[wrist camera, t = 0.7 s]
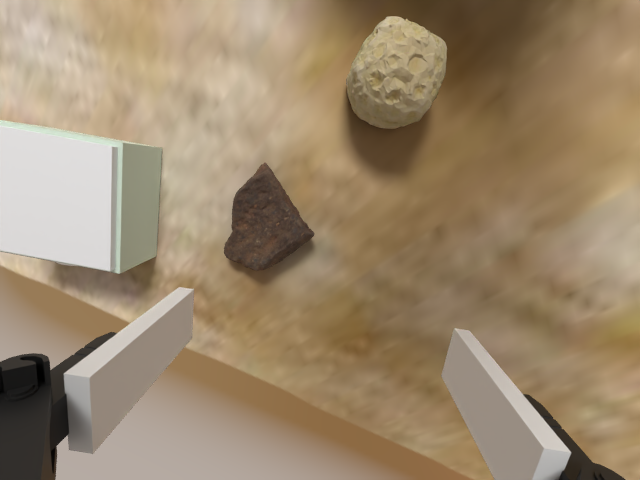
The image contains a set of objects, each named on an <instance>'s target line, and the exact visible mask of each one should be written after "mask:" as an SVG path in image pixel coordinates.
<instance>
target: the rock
mask: <svg viewBox="0 0 640 480" xmlns="http://www.w3.org/2000/svg"><path fill="white" fill-rule="evenodd" d="M232 230H233V232H232V234H231V236H230V237H229V238H228V240H227V242H226V243H225V247H224V254H225V256H226V257H227V258H228V259H230V260H232V261H235V262H238V263H241V264H243V265H244V266H245V267H249V268H251V269H253V270H264V269H267V268H269V267H271V266H272V265H274V264H276V263H278V262H280V261H282V260H283V259H284V258H286V257H287V256H289V255H290V254H291V253H293V252H294V251H295V250H296V249H298V248H299V247H300V246H301V245H303V244H304V243H305V242H307V241H308V240H310V239H311V238H312V237H313V236H314V232H313V231H312V230H311V229H309V227H308V225H307V224H306V223H305V222H304V221H303V220H302V219H301V217H300V215H299V212H298V210H297V208H296V207H295V206H294V205H293V203H292V202H291V200H290V198H289V196H288V195H287V194H286V192H285V190H284V189H283V188H282V186H281V184H280V182H279V181H278V180H277V178H276V177H275V175H274V174H273V172H272V170H271V169H270V168H269V166H268V165H267V164H266V163H264V164H263V165H261V166H260V167H259V169H258V170H257V172H256V173H255V174H254V176H253V177H251V178H250V179H249V180H248V181H247V182H246V184H245V185H244V186H243V187H241V188H240V189H239V190H238V192H237V193H236V195H235V198H234V201H233V209H232Z"/></svg>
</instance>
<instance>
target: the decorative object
mask: <svg viewBox="0 0 640 480" xmlns="http://www.w3.org/2000/svg"><path fill="white" fill-rule="evenodd" d="M446 54H447V47H446V44H445V42H444V41H443V40H442V39H441V38H440V37H438V36H437V35H435V34H433V33H430V31H428V30H426V29H425V28H424V27H422V26H419V25H418V24H417V23H414V22H411V21H409V20H408V19H405V20H404V19H403V18H401V17H396V16H390V17H386V19H385V20H383V21H381V22H380V23H379V24H378V25H377V26H376V27H375V29H374V30H373V32H372V33H371V34H370V35H369V36H368V37H367V38H366V40H365V41H364V43H363V44H362V46H361V49H360V51H359V52H358V54H357V56H356V58H355V60H354V61H353V63H352V67H351V70H350V73H349V74H348V76H347V79H346V84H347V94H348V98H349V101H350V103H351V106H352V109H353V111H354V113H356V114H357V116H358V117H359V118H360V119H362V120H365V121H366V122H367V123H369V124H370V125H373V126H376V127H380V128H387V129H395V128H399V127H400V126H402V127H404V126H406V125H409V124H411V123H413V122H418V121H420V119H421V118H422V117H423V115H424V114H425V113H426V112H427V111H428V109H429V108H430V107H431V105H432V102H433V101H434V100H435V98H436V96H437V94H438V91H439V88H440V87H441V84H442V82H443V79H444V77H445V73H446V61H447V56H446Z"/></svg>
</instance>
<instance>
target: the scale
mask: <svg viewBox="0 0 640 480" xmlns="http://www.w3.org/2000/svg"><path fill="white" fill-rule="evenodd" d="M161 160H162V148H160V147H155V146H149V145H144V144H139V143H133V142H128V141H122V140H117V139H111V138H106V137H100V136H95V135H89V134H84V133H79V132H73V131H68V130H62V129H57V128H51V127H45V126H38V125H31V124H24V123H18V122H11V121H4V120H0V252H6V253H11V254H17V255H22V256H27V257H33V258H38V259H43V260H49V261H54V262H55V263H58V264H61V265H68V266H81V267H86V268H91V269H97V270H102V271H107V272H113V273H118V274H121V273H123V272H125V271H127V270H129V269H131V268H133V267H135V266H137V265H139V264H141V263H143V262H145V261H147V260H150V259H152V258H154V257H156V256H157V237H158V218H159V199H160V179H161Z"/></svg>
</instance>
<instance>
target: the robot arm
mask: <svg viewBox="0 0 640 480" xmlns="http://www.w3.org/2000/svg"><path fill="white" fill-rule="evenodd" d="M193 303H194V289H189V288H182V287H179V288H177V289H176V290H175V291H173V292H172V293H171V294H169V295H168V296H167V297H165V298H164V299H163V300H161V301H160V302H159V303H157V304H156V305H155V306H153V307H152V308H151V309H149V310H148V311H147V312H145V313H144V314H143V315H141V316H140V317H139V318H137V319H136V320H135V321H133V322H132V323H131V324H129V325H128V326H127V327H125V328H124V329H123V330H121V331H120V332H119V333H114V332H110V333H108V334H105V335H103V336H100V337H98V338H96V339H94V340H93V341H92V342H90V343H89V344H87V345H86V346H85V347H84V348H82V349H80V350H79V351H77V352H76V353H75V355H72V356H70V357H69V358H68V359H66V360H64V361H63V362H62V363H60V364H59V365H57V366H56V367H55V368H53V369H52V370H50V362H49V359H48V357H47V356H45V355H43V354H24V355H19V356H16V357H11V358H8V359H6V360H4V361H2V362H0V480H55V477H56V462H57V447H56V446H57V445H58V444H59V443H60V442H61V441H62V440H63V439H64V438H65V437H66V436H67V435H68V442H69V450H73V451H79V452H85V453H91V454H93V453H94V452H95V451H96V449H98V447H99V446H100V445H101V444H102V443H103V442H104V440H105V439H106V438H107V436H109V435H110V433H111V432H112V431H113V430H114V429H115V427H116V426H117V425H118V424H119V423H120V421H121V420H122V419H123V418H124V417H125V416H126V415H127V413H128V412H129V411H130V410H131V409H132V408H133V406H134V405H135V404H136V403H137V402H138V401H139V399H140V398H141V397H142V396H143V395H144V393H145V392H146V391H147V390H148V389H149V388H150V387H151V385H152V384H153V383H154V382H155V381H156V379H157V378H158V377H159V376H160V375H161V374H162V372H163V371H164V370H165V369H166V368H167V367H168V365H169V364H170V363H171V362H172V361H173V360H174V358H175V357H176V356H177V355H178V354H179V353H180V351H181V350H182V349H183V348H184V347H185V346H186V344H187V343H188V342H189V341H190V340H191V339H192V326H193ZM441 376H442V378H443V380H444V382H445V384H446V386H447V388H448V390H449V392H450V394H451V396H452V398H453V400H454V402H455V404H456V405H457V407H458V409H459V411H460V413H461V415H462V417H463V419H464V421H465V423H466V425H467V427H468V429H469V431H470V433H471V435H472V437H473V439H474V441H475V443H476V444H477V446H478V448H479V450H480V452H481V454H482V456H483V458H484V460H485V462H486V464H487V466H488V468H489V470H490V472H491V474H492V476H493V478H494V480H625V479H624V478H623V477H621V476H620V475H618V474H617V473H615V472H614V471H612V470H610V469H608V468H606V467H604V466H602V465H600V464H595V463H593V462H592V461H591V460H590V459H589V458H588V457H587V455H586V454H585V453H584V452H583V451H582V450H581V449H580V448H579V446H578V445H577V444H576V443H575V442H574V441H573V440H572V438H571V437H570V436H569V435H568V434H567V433H566V432H565V430H563V429H562V428H561V426H560V425H559V424H558V422H557V421H556V420H554V419H553V417H552V416H551V415H550V413H549V412H548V411H547V410H546V409H545V408H544V407H543V406H542V405H541V404H540V403H539V402H537V401H536V400H535V399H533V398H532V397H531V396H529V395H526V394H522V393H521V392H520V390H519V389H518V388H517V387H516V386H515V384H514V383H513V382H512V381H511V380H510V378H509V377H508V376H507V375H506V374H505V372H504V371H503V370H502V369H501V368H500V366H499V365H498V364H497V363H496V362H495V360H494V359H493V358H492V357H491V356H490V354H489V353H488V352H487V351H486V350H485V348H484V347H483V346H482V345H481V344H480V342H479V341H478V340H477V339H476V338H475V336H474V335H473V334H472V333H471V332H470V330H463V329H456V328H454V330H453V334H452V338H451V341H450V345H449V349H448V353H447V356H446V360H445V364H444V368H443V371H442V375H441Z"/></svg>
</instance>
